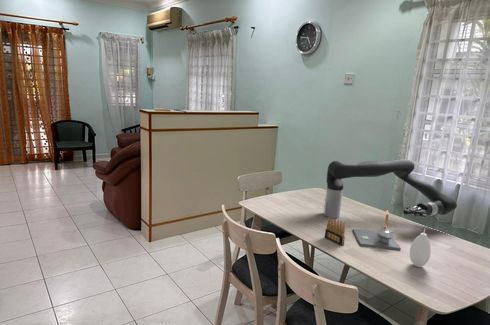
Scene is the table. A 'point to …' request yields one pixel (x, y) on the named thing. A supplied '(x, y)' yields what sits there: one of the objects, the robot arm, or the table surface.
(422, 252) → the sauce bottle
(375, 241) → the lock base
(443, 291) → the table surface
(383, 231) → the twist collar
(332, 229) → the ammunition clip
